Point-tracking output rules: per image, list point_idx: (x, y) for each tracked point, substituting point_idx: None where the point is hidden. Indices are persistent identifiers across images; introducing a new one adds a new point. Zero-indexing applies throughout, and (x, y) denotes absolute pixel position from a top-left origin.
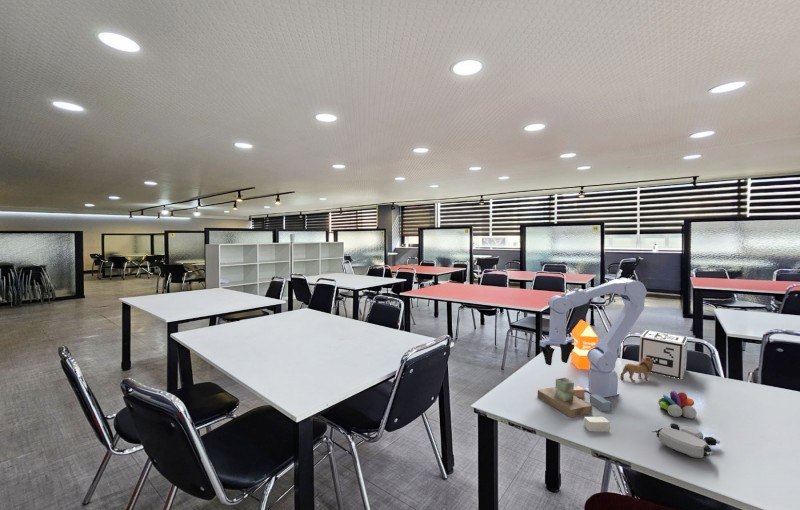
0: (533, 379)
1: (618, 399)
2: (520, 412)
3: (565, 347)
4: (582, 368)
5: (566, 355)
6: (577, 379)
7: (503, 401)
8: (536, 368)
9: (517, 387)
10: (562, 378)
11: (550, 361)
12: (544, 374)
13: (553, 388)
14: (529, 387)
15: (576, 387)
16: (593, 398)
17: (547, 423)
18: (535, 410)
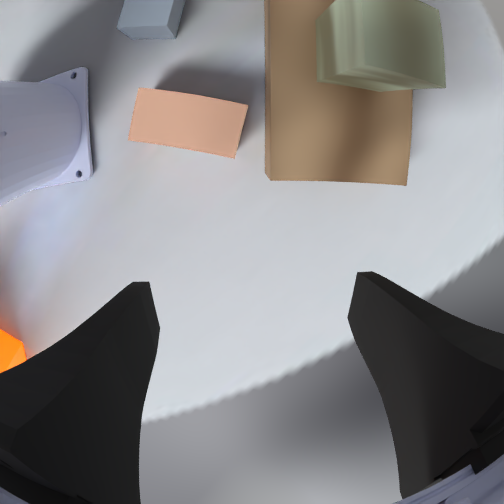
0: (261, 328)
1: (28, 62)
2: (498, 118)
3: (98, 455)
4: (12, 337)
5: (117, 343)
6: (57, 277)
7: (493, 199)
8: (171, 392)
9: (389, 278)
10: (395, 65)
11: (398, 286)
12: (172, 353)
13: (317, 166)
14: (346, 267)
15: (163, 127)
16: (175, 4)
17: (471, 28)
18: (463, 97)
